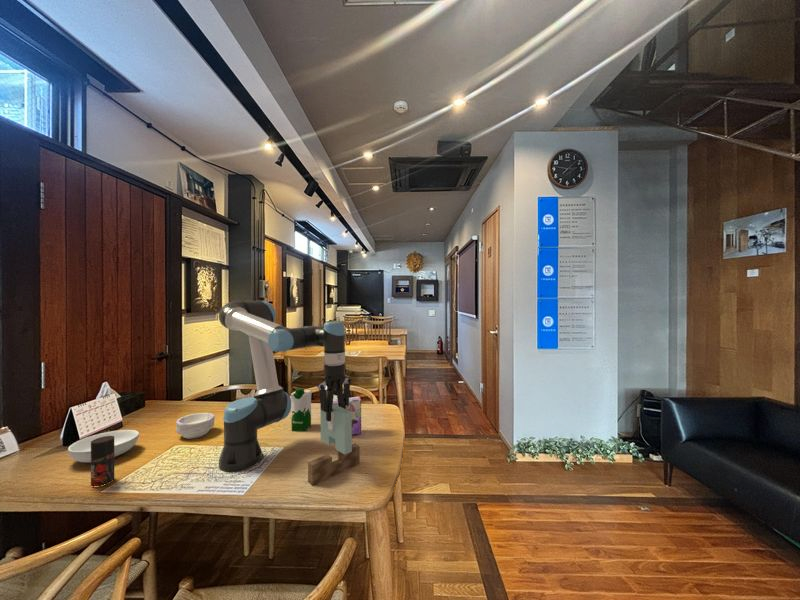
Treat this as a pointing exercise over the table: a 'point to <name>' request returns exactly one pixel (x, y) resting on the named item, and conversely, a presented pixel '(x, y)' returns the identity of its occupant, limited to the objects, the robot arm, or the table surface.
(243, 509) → the table surface
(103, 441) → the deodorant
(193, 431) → the paper bowls
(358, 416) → the candy box
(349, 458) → the walnut board
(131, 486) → the table surface
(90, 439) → the serving bowl
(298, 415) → the milk carton
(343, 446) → the pale green slab
